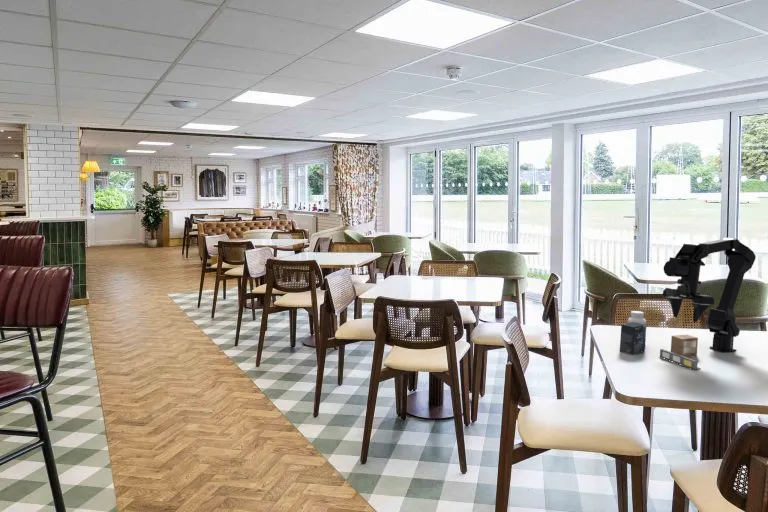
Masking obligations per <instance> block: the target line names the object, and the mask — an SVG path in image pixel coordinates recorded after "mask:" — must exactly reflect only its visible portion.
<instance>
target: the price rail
mask: <svg viewBox="0 0 768 512" xmlns="http://www.w3.org/2000/svg"><path fill="white" fill-rule="evenodd" d="M661 357H662V358H661ZM659 358H661V359H663V358H665V359H664V360H666V359H667V360H666V361H669V360H670V361H669V362H671V361H673V362H672V363H674V362H675V363H674V364H677V363H678V364H677V365H679V364H681V365H680V366H682V365H683V367H685V366H686V368H687V367H688V369H690V368H691V369H690V370H693V369H694V370H693V371H700V370H701V367H698V362H699V361H698V360H696V359H692V358H691V357H684V356H681V355H678V354H676V353H673V352H671V350H670V351H669V350H667V349H664V348H660V350H659ZM699 369H700V370H699Z"/></svg>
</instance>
